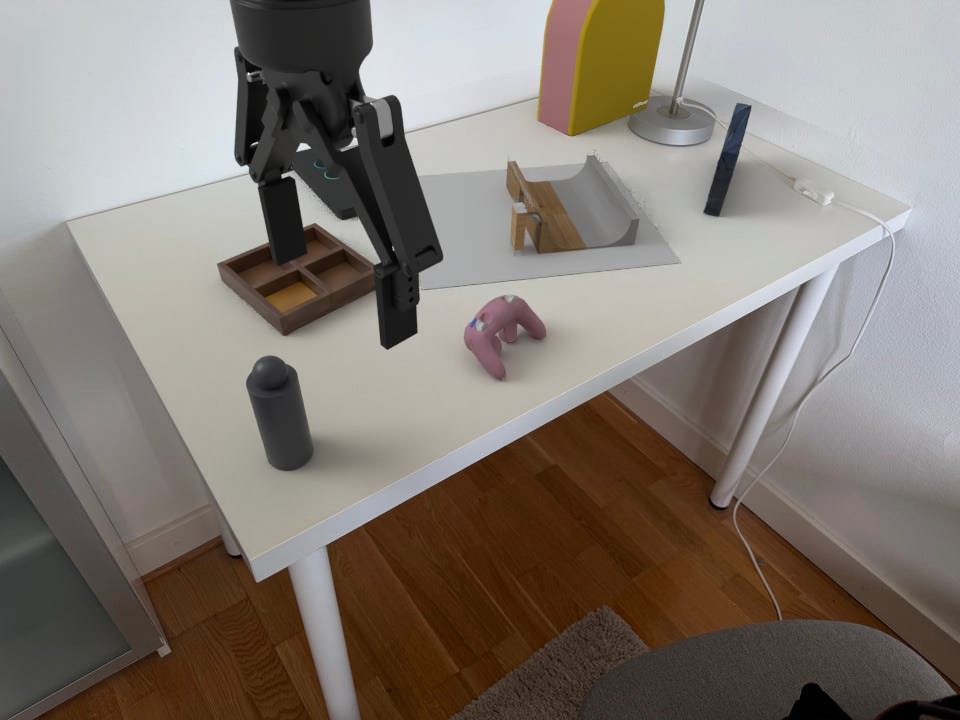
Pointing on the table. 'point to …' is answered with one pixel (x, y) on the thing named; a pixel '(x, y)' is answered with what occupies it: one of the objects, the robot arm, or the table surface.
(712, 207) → the vhs cassette tape
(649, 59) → the yellow and pink slab
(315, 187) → the smart home device
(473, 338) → the video game controller
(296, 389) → the pawn
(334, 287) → the grid
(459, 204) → the skate ramp
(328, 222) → the table surface
